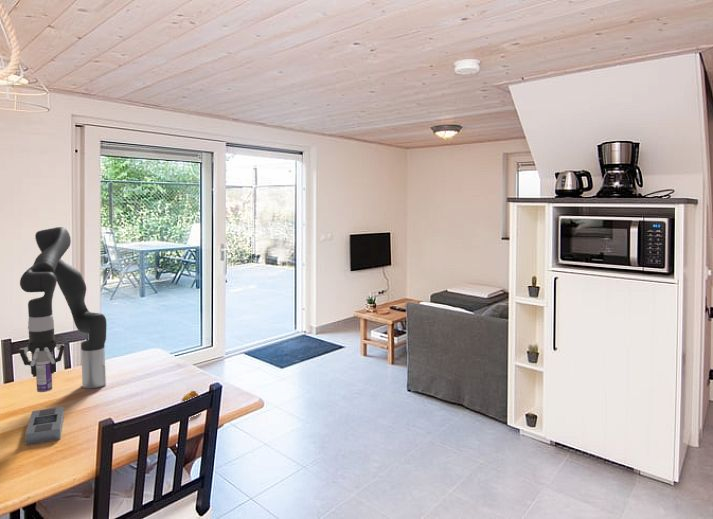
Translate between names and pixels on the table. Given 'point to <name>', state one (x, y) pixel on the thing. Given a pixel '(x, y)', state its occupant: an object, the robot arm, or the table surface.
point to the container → (43, 372)
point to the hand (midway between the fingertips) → (43, 374)
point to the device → (45, 426)
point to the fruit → (189, 395)
